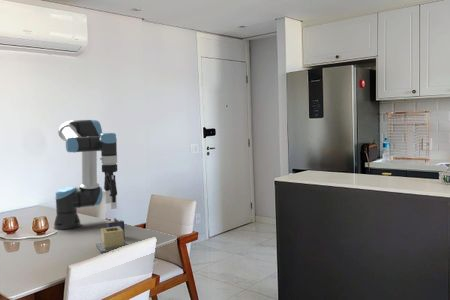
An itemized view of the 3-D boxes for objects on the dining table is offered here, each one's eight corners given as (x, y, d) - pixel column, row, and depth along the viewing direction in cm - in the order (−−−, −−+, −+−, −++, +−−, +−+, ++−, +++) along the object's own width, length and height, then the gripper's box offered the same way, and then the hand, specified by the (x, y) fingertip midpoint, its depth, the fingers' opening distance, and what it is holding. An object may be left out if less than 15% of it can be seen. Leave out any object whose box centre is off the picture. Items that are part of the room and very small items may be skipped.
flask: (107, 239, 224) (106, 219, 223) (107, 237, 227) (106, 218, 226) (124, 237, 227) (124, 218, 226) (124, 236, 230) (123, 216, 229)
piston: (96, 245, 214) (95, 233, 213) (123, 241, 220) (122, 230, 219) (101, 253, 201) (100, 241, 201) (129, 248, 207) (129, 236, 207)
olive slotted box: (101, 243, 213) (100, 228, 212) (119, 241, 217) (119, 226, 216) (104, 249, 204) (104, 233, 204) (124, 246, 208) (123, 230, 208)
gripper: (97, 161, 217) (98, 201, 219) (106, 167, 194) (108, 212, 196) (111, 160, 220) (113, 200, 222) (122, 166, 198) (124, 210, 200)
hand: (110, 205), depth 209 cm, fingers open, 13 cm apart
